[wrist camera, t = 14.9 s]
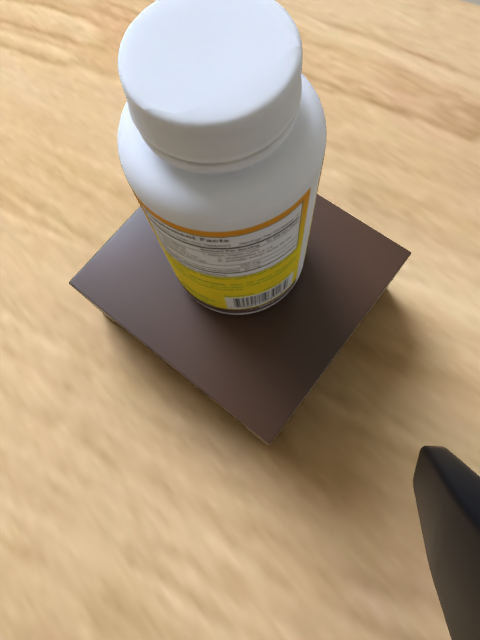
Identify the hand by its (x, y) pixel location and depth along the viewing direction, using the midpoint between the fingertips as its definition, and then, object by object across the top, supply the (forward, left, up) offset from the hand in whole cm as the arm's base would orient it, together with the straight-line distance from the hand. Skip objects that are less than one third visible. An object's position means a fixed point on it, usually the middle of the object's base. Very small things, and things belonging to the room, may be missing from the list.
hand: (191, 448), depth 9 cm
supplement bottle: (+7, +5, -8) cm, 12 cm away
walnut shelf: (+6, +4, -12) cm, 14 cm away
